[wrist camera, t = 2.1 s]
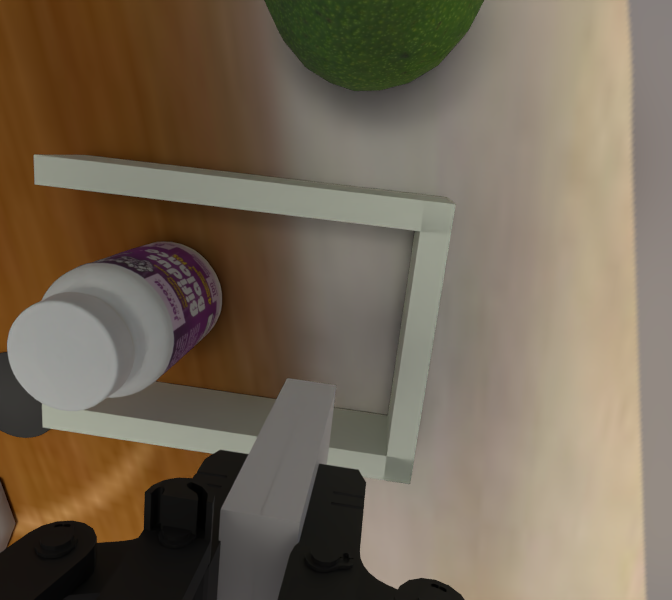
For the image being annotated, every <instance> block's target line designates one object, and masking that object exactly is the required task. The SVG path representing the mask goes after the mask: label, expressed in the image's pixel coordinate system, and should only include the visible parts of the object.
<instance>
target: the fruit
mask: <svg viewBox="0 0 672 600" xmlns="http://www.w3.org/2000/svg"><path fill="white" fill-rule="evenodd" d="M265 2H266V5H267V7H268V9H269V11H270V13H271V16H272V18H273V20H274V22H275V24H276V27H277V29H278V31H279V33H280V35H281V36H282V38H283V40H284V42H285V43H286V44H287V45H288V47H289V48H290V49H291V50H292V51H293V53H294V54H295V55H296V56H297V57H298V59H299V60H300V61H301V62H302V64H303V65H304V66H305V67H306V68H308V69H309V70H311V71H312V72H314V73H316V74H317V75H319V76H320V77H322V78H323V79H325V80H327V81H328V82H330V83H332V84H335V85H338V86H341V87H344V88H347V89H350V90H353V91H372V90H383V89H387V88H391V87H395V86H399V85H403V84H407V83H409V82H411V81H412V80H414V79H416V78H418V77H419V76H421V75H423V74H424V73H426V72H428V71H429V70H431V69H433V68H434V67H436V66H438V65H439V64H440V62H441V61H442V60H443V59H444V58H445V57H446V56H447V55H448V54H449V52H450V51H451V50H452V49H453V48H454V47H455V46H456V45H457V43H458V42H459V41H460V40H461V39H462V38H463V37H464V35H465V34H466V33H467V31H468V30H469V28H470V26H471V24H472V23H473V21H474V19H475V17H476V15H477V13H478V11H479V9H480V7H481V5H482V3H483V2H484V0H265Z"/></svg>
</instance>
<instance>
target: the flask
mask: <svg viewBox="0 0 672 600" xmlns="http://www.w3.org/2000/svg"><path fill="white" fill-rule="evenodd" d="M15 524H16V523H15V520H14V518H13V515H12V512H11V509H10V507H9V504H8V501H7V498H6V495H5V493H4V490H3V487H2V484H1V482H0V553H1V552H2V551H3V550H5V549H6V547H7V544H8V542H9V539H10V537H11V534H12V531H13V529H14V526H15Z"/></svg>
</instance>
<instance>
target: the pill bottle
mask: <svg viewBox="0 0 672 600" xmlns="http://www.w3.org/2000/svg"><path fill="white" fill-rule="evenodd" d="M221 307H222V291H221V286H220V283H219V280H218V277H217V275H216V273H215V272H214V270H213V268H212V267H211V266H210V264H209V263H208V261H207V260H206V259H205V258H204V257H202V256H201V255H200V254H199V253H198V252H197V251H195V250H193V249H191V248H190V247H187V246H185V245H183V244H179V243H174V242H156V243H151V244H147V245H144V246H141V247H137V248H134V249H130V250H127V251H124V252H121V253H118V254H115V255H113V256H110V257H107V258H104V259H101V260H98V261H95V262H92V263H87V264H84V265H81V266H79V267H77V268H75V269H73V270H71V271H69V272H67V273H65V274H64V275H62V276H61V277H60V278H59V279H57V280H56V281H55V282H54V283H53V284H52V285H51V286H50V287H49V289H48V290H47V292H46V293H45V295H44V297H43V299H42V301H40V302H38V303H36V304H34V305H32V306H30V307H28V308H27V309H26V310H24V311H23V312H22V313H21V314H20V315H19V316H18V317H17V319H16V320H15V321H14V323H13V324H12V327H11V329H10V332H9V336H8V341H7V351H8V358H9V363H10V366H11V369H12V371H13V373H14V375H15V377H16V379H17V380H18V381H19V383H20V384H21V385H22V387H23V388H24V389H25V390H26V391H27V392H28V393H29V394H30V395H31V396H32V397H34V398H35V399H36V400H38V401H39V402H41V403H43V404H44V405H47V406H49V407H52V408H55V409H58V410H64V411H80V410H85V409H88V408H91V407H93V406H95V405H97V404H99V403H100V402H102V401H103V400H105V399H106V398H116V397H123V396H128V395H131V394H134V393H137V392H139V391H141V390H143V389H145V388H146V387H148V386H150V385H151V384H153V383H154V382H155V381H156V380H157V379H158V378H159V377H160V376H162V375H163V374H164V373H165V372H166V371H167V370H169V369H170V368H171V367H172V366H173V365H174V364H175V363H176V362H177V361H178V360H180V359H181V358H182V357H183V356H184V355H185V354H186V353H187V352H188V351H190V350H191V349H192V348H193V347H194V346H195V345H196V344H197V343H198V342H199V341H201V340H202V339H203V338H204V337H205V336H206V335H207V334H208V333H209V332H210V330H211V329H212V328H213V327H214V325H215V323H216V322H217V320H218V317H219V315H220V312H221Z"/></svg>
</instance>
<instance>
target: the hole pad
mask: <svg viewBox="0 0 672 600" xmlns="http://www.w3.org/2000/svg"><path fill="white" fill-rule="evenodd" d="M0 430H1V431H3V432H5V433H7V434H9V435H12V436H16V437H23V438H29V437H36V436H39V435H41V434H43V433H45V432H47V431H48V430H50V428H44V427H43V426H42V403H41V402H39V401H38V400H36V399H35V398H34V397H32V396H31V395H30V394H29V393H28V392H27V391H26V390H25V389H24V388H23V387H22V385H21V384H20V383H19V381H18V380H17V379H16V377H15V375H14V373H13V371H12V369H11V366H10V363H9V358H8V352H4V353H0Z"/></svg>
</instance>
